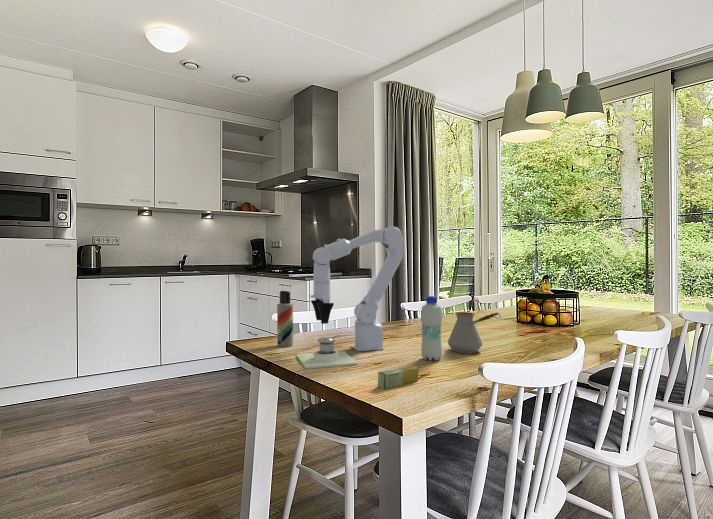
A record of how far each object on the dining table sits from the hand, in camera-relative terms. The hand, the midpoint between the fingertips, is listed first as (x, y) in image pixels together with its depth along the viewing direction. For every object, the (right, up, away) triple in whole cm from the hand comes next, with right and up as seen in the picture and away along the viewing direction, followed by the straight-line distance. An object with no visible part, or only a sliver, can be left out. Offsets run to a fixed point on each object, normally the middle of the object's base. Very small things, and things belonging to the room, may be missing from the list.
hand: (322, 321), depth 151 cm
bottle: (+36, -10, -13) cm, 39 cm away
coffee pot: (+51, -10, -6) cm, 52 cm away
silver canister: (+2, -10, -13) cm, 16 cm away
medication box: (+23, -11, -38) cm, 46 cm away
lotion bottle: (-14, -10, +8) cm, 19 cm away
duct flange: (+2, -10, -14) cm, 17 cm away
